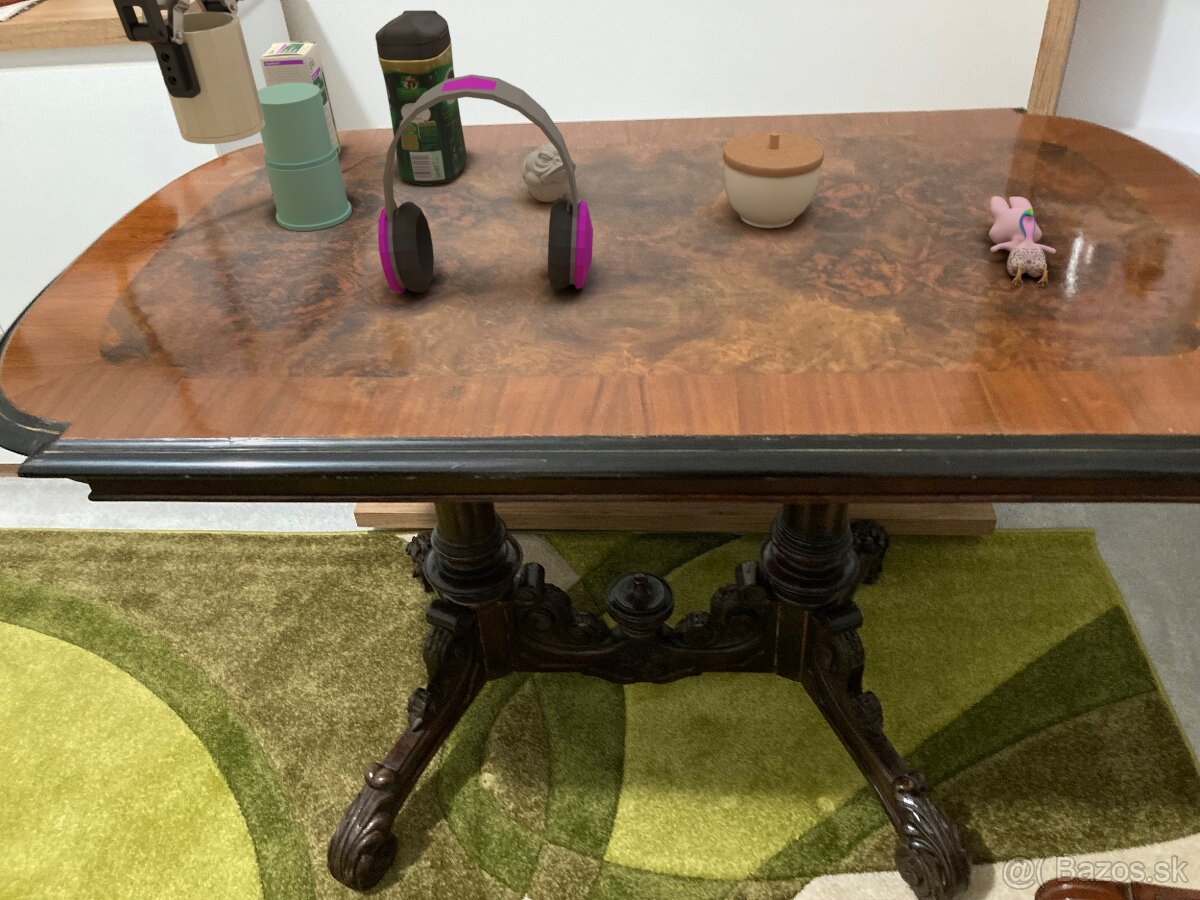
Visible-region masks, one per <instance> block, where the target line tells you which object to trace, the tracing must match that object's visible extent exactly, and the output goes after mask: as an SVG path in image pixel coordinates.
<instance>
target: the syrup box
mask: <svg viewBox="0 0 1200 900" xmlns="http://www.w3.org/2000/svg"><path fill="white" fill-rule="evenodd" d="M259 62H260V67H261V69H262V74H263V77H264V80H265V84H266V87H268V86H272V85H277V84H283V83H309V84H314V85H316V86H318V87H319V88H320V92H321V97H322V101H323V106H324V111H325V115H326V120H327V125H328V129H329V134H330V139H331V143H332V144H334V146H335V149H336V151H337V154H338V155H339V154H340V152H341V151H342V147H341V143H340V139H339V135H338V130H337V125H336V121H335V117H334V112H333V107H332V103H331V98H330V94H329V90H328V86H327V82H326V81H327V80H326V77H325V72H324V68H323V64H322V60H321V55H320V50H319V46H318V43H317V41H310V40H309V41H307V40H291V41H284V42H283V41H282V42H275V43H274V42H273V43H272V44H271V46H270V48H268V49H267V50H266V51H265V52H264V53H263V54H262V55H260V57H259Z"/></svg>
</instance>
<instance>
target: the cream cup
mask: <svg viewBox="0 0 1200 900" xmlns="http://www.w3.org/2000/svg"><path fill="white" fill-rule="evenodd" d="M163 20H164V23H165V25H168V18H167V16H165V17H163ZM183 43H187V45H188V48H189V52H190V55H191V58H192V62H193V65H194V69H195V72H196V76H197V79H198V83H199V86H200V90H201V91H200V94H199V95H197V96H195V97H194V98H175V97H173V96H172V95H171V94H170V93H169V91H168V89H167V87H166V85H165V82H164V79H163V76H162V73H161V72H162V71H161V70H160V69H159V70H160V74H161V77H162V80H163V83H164V86H165V90H166V93H167V96H168V99H169V103H170V106H171V110H172V113H173V116H174V118H175V121H176V125H177V128H178V130H179V134H180V136H181V139H183V140H184V141H186V142H189V143H192V144H196V145H197V144H198V145H217V144H226V143H232V142H233V143H234V142H237V141H241V140H245V139H247V138H250V137H253V136H254V135H257V134H258V133H260V131H261V130H262V129H263V128H264V126H265V122H264V116H263V112H262V108H261V104H260V100H259V96H258V92H257V91H258V88H257V83H256V80H255V76H254V72H253V68H252V65H251V61H250V57H249V52H248V49H247V44H246V41H245V36H244V32H243V29H242V24H241V21H240V17H238V15H237V14H236V15H235V14H232V13H228V12H216V11H208V12H202V11H193V12H187V13H186V12H184V41H183ZM154 54H155V53H154ZM155 58H156V60H157V57H156V54H155ZM157 64H158V67H159V68H160V66H159V63H158V60H157Z"/></svg>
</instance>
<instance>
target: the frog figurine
mask: <svg viewBox="0 0 1200 900" xmlns="http://www.w3.org/2000/svg"><path fill="white" fill-rule="evenodd" d="M571 160H572V162H573V167H574V171H575V170H576V167H577V165H576V164H575V160H574V159H573V158H572V157H571ZM522 162H523V163H522V166H521V169H520V173H521V177H522V179H523V182H524V184H525V185H526V187H527V190H528V192H529V194H530V195H531V196H532V197H533V198H534V199H536V200H538V201H539V202H543V203H554V202H555V201H556V200H557V199H558V198H563V196H564V195H565V194H566V193H567V190H568V188H569V186H570V185H569V179H568V175H567V172H566V170H565V168H564V165H563V163H562V161H561V158H560V156H559V153H558V151H557V149H556V148H555V147H554V145H553V144H552V143H551V142H550V141H549V142H547V143H543V144H541V145H540V146H539V147H538V148H537V149H536V150H534V151H531V152H530V153H529V154H527V156H525V158H524V159H523V161H522Z"/></svg>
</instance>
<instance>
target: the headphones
mask: <svg viewBox="0 0 1200 900" xmlns="http://www.w3.org/2000/svg"><path fill="white" fill-rule="evenodd" d="M463 98H472V99H479V100H487V101H493V102H496V103H498V104H500V105H503V106H505V107H507V108H511V109H512V110H514V111H517V112H519V113H520V114H521V115H522V116H524V117H525V118H526V119H528V120H529V121H530V122H531V123H533V124H534V125H535V126H537V127H538V128H539V129H540V130H541V132H542V133H543V134H544V135H545V136H546V138H547V139H548V140H549V143H550V142H551V143H552V144H553V145H554V147H555V148H556V149H557V151H558V153H559V156H560V158H561V161H562V163H563V165H564V168H565V170H566V172H567V175H568V179H569V185H568V186H569V190H570V191H569V192H570V196H571V200H570V199H568V198H566V197H561V198H558V199H557V200H556V201H553V202H552V205H551V207H550V211H549V222H548V223H549V225H548V241H547V242H548V243H547V278H548V281H549V283H550V285H551V286H552V287H553V288H554V289H556V290H564V289H566V288H567V287H569V286H570V285H573V286H574V287H575V289H576V290H578V289H582V288H584V285H585V282H586V279H587V276H588V273H589V270H590V267H591V265H592V260H593V243H594V241H593V240H594V227H593V223H592V219H591V214H590V211H589V206H588V202H587V201H584V200H582V199H580V201H579V194H578V188H577V180H576V174H575V170H574V167H573V162H572V160H571V158H572V157H571V155H570V153H569V150H568V146H567V145H566V142H565V138H564V137H563V134H562V132H561V131H560V130H559V128H558V127H557V126H556V123H555V122H554V121H553V119H552V118H551V117H550V114H549V113H548V112H547V109H545V108H544V107H542V106H541V105H540V103H539V102H537V101H536V100H535V99H534V98H532V96H530V95H529V94H528V93H527V92H526V91H525V90H523V89H522V88H520V87H517V86H515V85H513V84H512V83H510V82H508V81H505V80H503V79H501V78H499V77H493V76H485V75H478V74H472V73H471V74H466V75H461V76H457V77H456V76H455V78H452V79H447V80H445V81H443V82H441V83H440V84H438V85H436V86H435V87H433V88H431V89H430V90H428V91H426V92H425V93H423V94H422V96H421V97H420V98H419V99H418V100H417V101H416V103H415V104H414V105H413V106H412V107H411V108H410V109H409V111H408V112H407V113H406V114H405V116H404V118H403V120H402V122H401V124H400V126H399V128H398V130H397V132H396V134H395V137H394V136H393V138H392V141H391V143H390V145H389V148H388V150H387V152H386V159H385V164H384V171H383V175H382V183H383V196H384V207H383V208H382V209H381V210H380V213H379V218H378V228H377V229H378V230H377V231H378V232H377V242H378V243H377V244H378V254H379V256H380V262H381V266H382V271H383V273H384V276H385V280H386V282H387V284H388V286H389V287H390V289H391V290H392V291H394V292H397V293H401V294H402V293H405V291H406V289H407V290H409V291H411V292H414V293H417V294H421V293H424V292H426V290H427V289H428V288H429V287H430V285H431V283H432V279H433V277H434V276H433V274H434V267H435V263H434V262H435V259H434V258H435V257H434V256H435V255H434V246H433V239H432V234H431V233H432V232H431V228H430V225H429V221H428V220H427V217H426V215H425V213H424V211H423V210H422V208H421V207H420V206H418V205H417V204H416V203H414V202H413V201H405V202H403V203H401V204H400V205H399V207H398V205H397V202H396V200H395V198H394V183H393V182H394V181H393V179H394V178H393V166H394V161H395V155H396V145H397V142H398V140H399V137H400V135H401V133H402V131H403V130H404V129H405V128H406V127H407V126H408V125H409V124H410V123H411V122H412V121H413V119H414V118H415V117H416V116H417V115H418V114H419V113H421V112H423V111H425V110H426V109H428V108H430V107H432V106H434V105H435V104H437V103H439V102H441V101H447V100H452V99H458V100H459V99H463Z"/></svg>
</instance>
